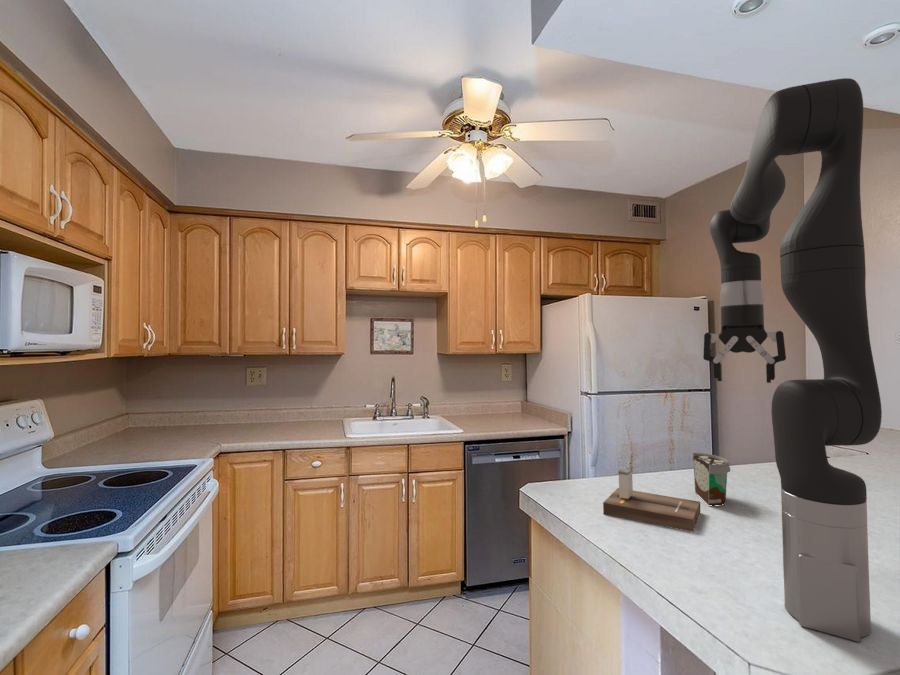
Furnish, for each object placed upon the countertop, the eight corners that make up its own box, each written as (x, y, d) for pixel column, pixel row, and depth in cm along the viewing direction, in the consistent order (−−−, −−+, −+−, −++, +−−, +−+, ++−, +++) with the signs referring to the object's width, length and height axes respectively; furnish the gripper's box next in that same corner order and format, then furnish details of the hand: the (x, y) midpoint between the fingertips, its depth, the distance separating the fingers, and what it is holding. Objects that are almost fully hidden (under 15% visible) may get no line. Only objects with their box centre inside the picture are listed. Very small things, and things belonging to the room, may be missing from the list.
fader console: (693, 532, 90) (692, 519, 90) (603, 513, 101) (603, 502, 101) (700, 512, 100) (700, 501, 100) (618, 498, 111) (617, 487, 111)
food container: (740, 510, 101) (739, 466, 101) (711, 508, 102) (710, 465, 103) (719, 492, 113) (718, 452, 113) (693, 491, 114) (692, 452, 115)
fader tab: (628, 499, 101) (627, 472, 101) (619, 497, 103) (618, 471, 103) (633, 493, 105) (632, 468, 105) (623, 492, 106) (623, 467, 106)
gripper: (700, 305, 94) (702, 382, 94) (784, 300, 86) (787, 384, 86) (704, 307, 100) (706, 379, 100) (783, 302, 92) (785, 381, 92)
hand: (743, 381), depth 93 cm, fingers open, 8 cm apart
